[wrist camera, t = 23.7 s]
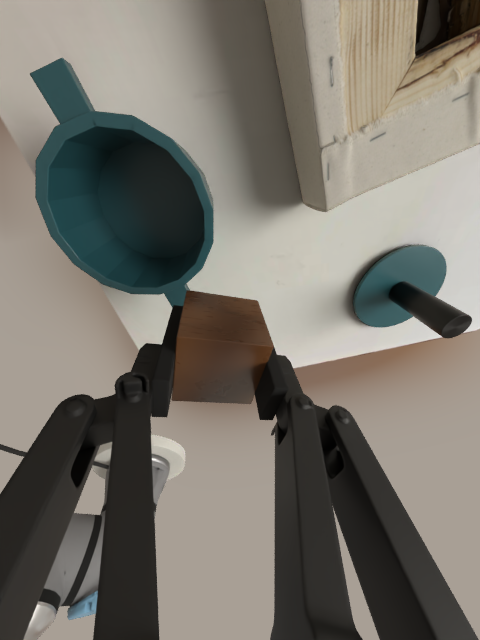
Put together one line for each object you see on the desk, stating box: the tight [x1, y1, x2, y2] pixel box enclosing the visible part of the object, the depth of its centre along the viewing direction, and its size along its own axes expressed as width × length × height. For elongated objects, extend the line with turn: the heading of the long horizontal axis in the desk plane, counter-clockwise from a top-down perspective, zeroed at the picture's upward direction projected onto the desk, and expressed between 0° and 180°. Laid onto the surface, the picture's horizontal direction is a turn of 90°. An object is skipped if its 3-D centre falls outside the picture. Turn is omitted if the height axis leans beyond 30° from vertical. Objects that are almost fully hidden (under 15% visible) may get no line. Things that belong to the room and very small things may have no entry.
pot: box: [30, 58, 213, 307], centre depth 22 cm, size 14×19×10 cm
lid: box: [353, 245, 472, 338], centre depth 32 cm, size 15×15×11 cm
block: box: [172, 290, 274, 404], centre depth 14 cm, size 5×5×5 cm
